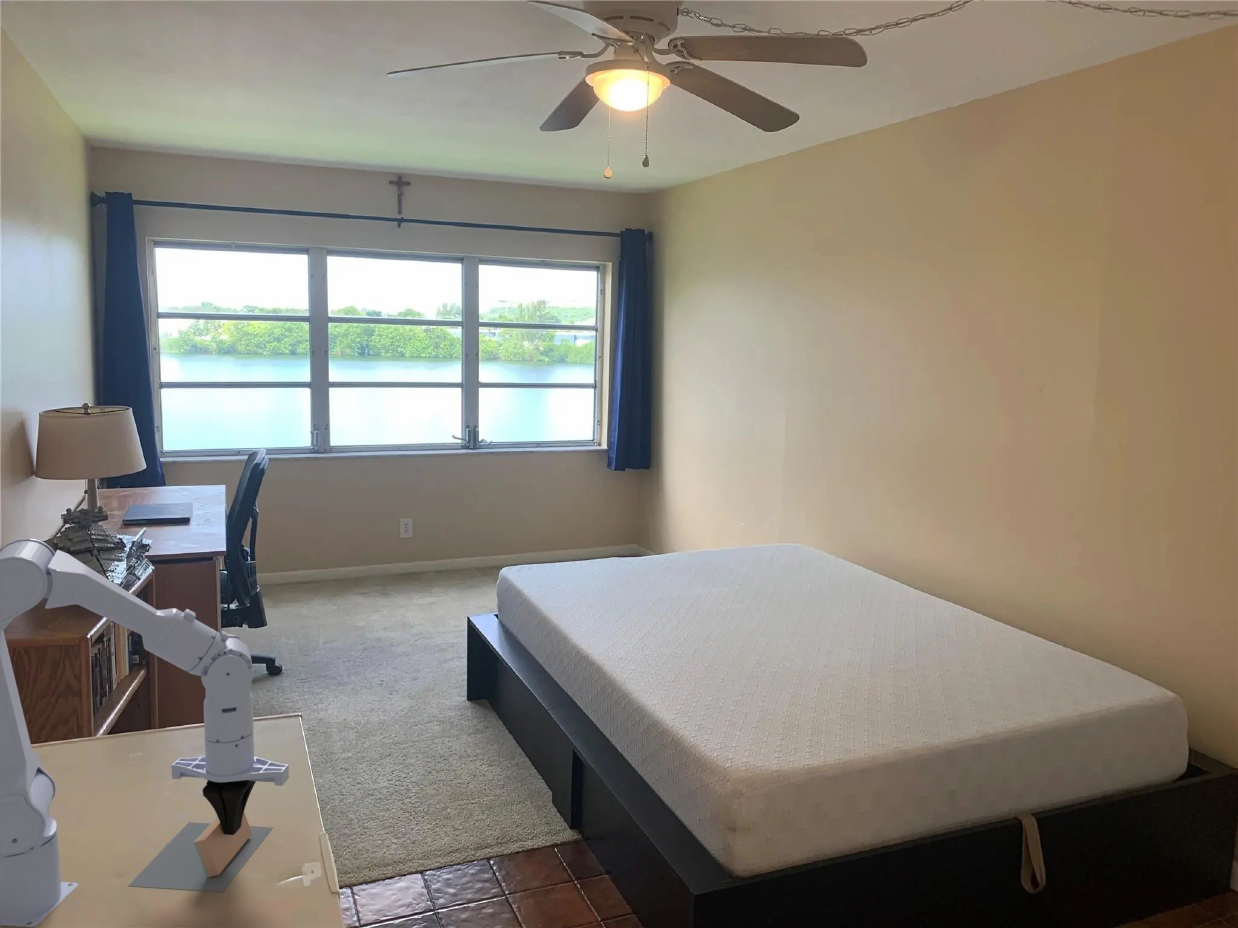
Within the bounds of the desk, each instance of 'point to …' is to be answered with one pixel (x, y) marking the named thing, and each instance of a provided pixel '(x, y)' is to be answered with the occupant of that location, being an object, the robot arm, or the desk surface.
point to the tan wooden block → (220, 846)
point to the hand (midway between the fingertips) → (232, 830)
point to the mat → (194, 863)
